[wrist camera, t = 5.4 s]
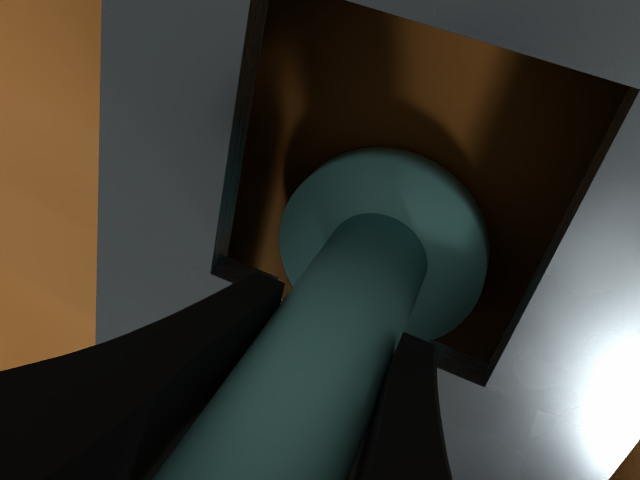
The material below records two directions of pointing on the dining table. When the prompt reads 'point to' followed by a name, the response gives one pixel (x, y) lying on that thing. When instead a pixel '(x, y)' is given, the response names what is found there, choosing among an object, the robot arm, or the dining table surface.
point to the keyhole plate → (221, 271)
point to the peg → (341, 317)
